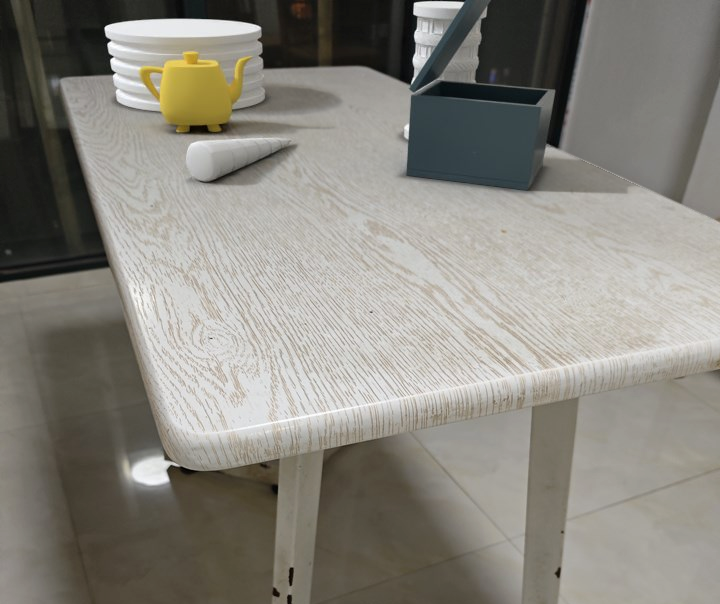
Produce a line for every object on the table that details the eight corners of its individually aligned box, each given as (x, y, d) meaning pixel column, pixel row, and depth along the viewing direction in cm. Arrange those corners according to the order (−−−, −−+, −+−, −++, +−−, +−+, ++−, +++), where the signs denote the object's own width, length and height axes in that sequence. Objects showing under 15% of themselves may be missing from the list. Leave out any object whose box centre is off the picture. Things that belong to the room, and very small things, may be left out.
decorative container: (408, 145, 110) (416, 7, 99) (400, 128, 119) (406, 0, 108) (481, 146, 111) (497, 9, 100) (467, 129, 120) (481, 1, 109)
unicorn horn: (312, 147, 108) (311, 112, 105) (214, 185, 92) (210, 146, 89) (286, 143, 110) (285, 108, 107) (185, 180, 93) (180, 141, 90)
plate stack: (119, 85, 144) (107, 18, 137) (256, 83, 149) (252, 18, 142) (114, 114, 123) (100, 37, 116) (274, 110, 128) (270, 36, 121)
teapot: (254, 118, 123) (250, 47, 116) (259, 133, 114) (255, 57, 108) (148, 120, 120) (137, 47, 113) (145, 135, 111) (133, 57, 105)
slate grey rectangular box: (542, 166, 102) (555, 89, 96) (527, 190, 93) (541, 107, 87) (430, 153, 107) (436, 79, 100) (406, 175, 97) (410, 95, 91)
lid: (524, -50, 89) (490, -82, 88) (505, -48, 79) (467, -84, 78) (439, 77, 100) (409, 50, 100) (413, 93, 91) (380, 63, 90)
